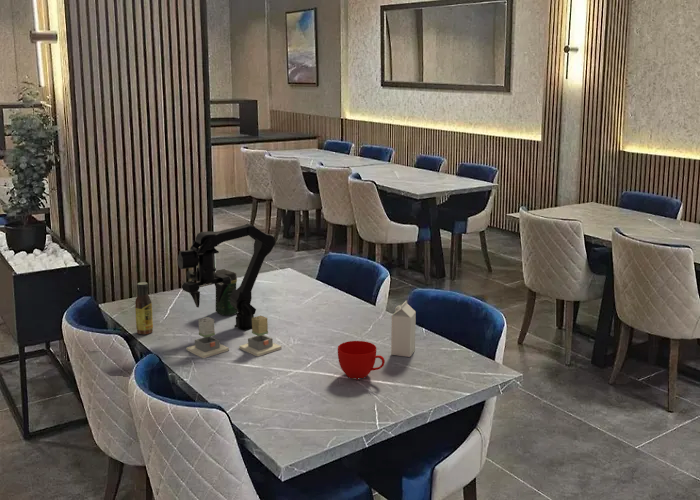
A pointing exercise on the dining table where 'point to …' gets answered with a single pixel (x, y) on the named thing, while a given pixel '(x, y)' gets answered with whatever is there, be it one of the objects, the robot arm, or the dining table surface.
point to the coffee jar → (226, 294)
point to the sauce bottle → (143, 310)
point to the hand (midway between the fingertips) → (208, 304)
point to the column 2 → (259, 325)
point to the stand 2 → (260, 345)
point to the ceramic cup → (358, 358)
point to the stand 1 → (207, 347)
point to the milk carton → (403, 331)
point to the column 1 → (206, 327)
